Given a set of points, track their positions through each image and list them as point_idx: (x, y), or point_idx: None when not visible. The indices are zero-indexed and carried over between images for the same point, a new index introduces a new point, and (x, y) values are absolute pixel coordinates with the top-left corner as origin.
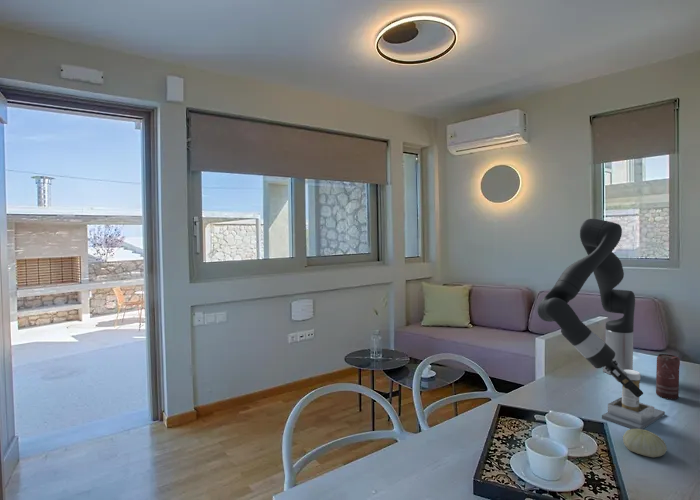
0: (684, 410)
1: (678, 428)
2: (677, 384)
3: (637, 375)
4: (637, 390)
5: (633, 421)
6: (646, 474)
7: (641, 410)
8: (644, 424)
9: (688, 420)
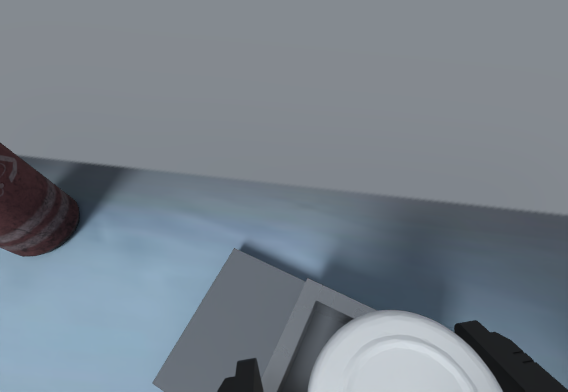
0: (172, 194)
1: (344, 227)
2: (33, 168)
3: (468, 346)
4: (528, 363)
5: None
6: None
7: (302, 336)
8: None
9: (256, 194)
